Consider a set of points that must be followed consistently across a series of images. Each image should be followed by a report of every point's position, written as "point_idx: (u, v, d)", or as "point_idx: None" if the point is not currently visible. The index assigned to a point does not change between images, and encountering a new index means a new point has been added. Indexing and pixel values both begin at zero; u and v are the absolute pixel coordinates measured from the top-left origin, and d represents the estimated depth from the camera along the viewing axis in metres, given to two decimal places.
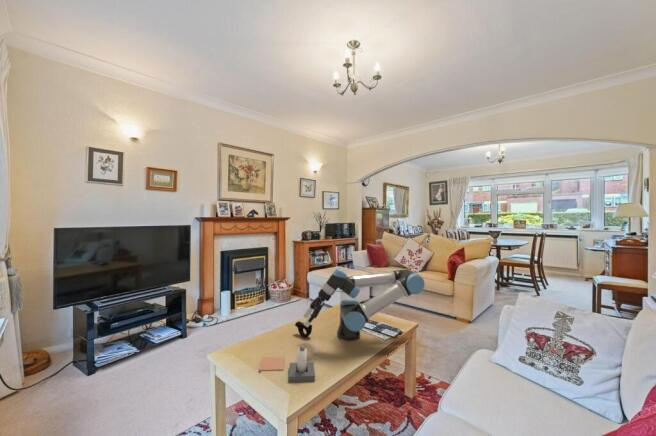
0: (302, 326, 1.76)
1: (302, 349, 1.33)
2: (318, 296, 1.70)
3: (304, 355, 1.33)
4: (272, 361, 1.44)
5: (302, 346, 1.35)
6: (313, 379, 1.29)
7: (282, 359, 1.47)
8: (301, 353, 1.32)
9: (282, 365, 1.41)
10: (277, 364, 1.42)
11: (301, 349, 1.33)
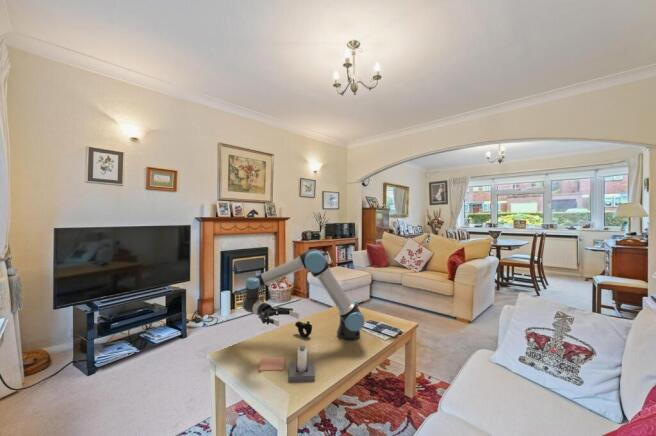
0: (302, 326, 1.76)
1: (302, 349, 1.33)
2: None
3: (304, 355, 1.33)
4: (272, 361, 1.44)
5: (302, 346, 1.35)
6: (313, 379, 1.29)
7: (282, 359, 1.47)
8: (301, 353, 1.32)
9: (282, 365, 1.41)
10: (277, 364, 1.42)
11: (301, 349, 1.33)
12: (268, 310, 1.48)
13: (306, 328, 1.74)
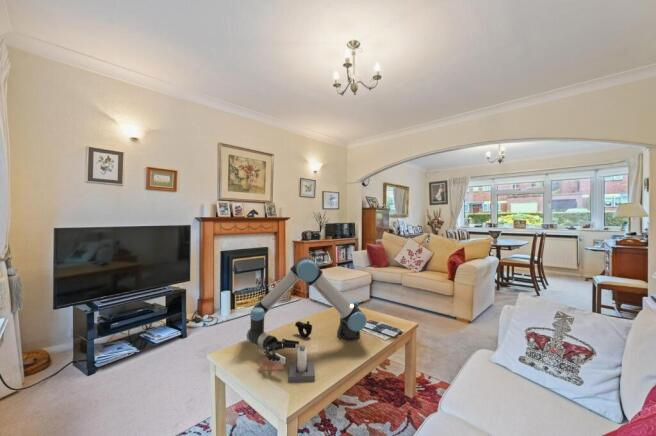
0: (302, 326, 1.76)
1: (302, 349, 1.33)
2: None
3: (304, 355, 1.33)
4: (272, 361, 1.44)
5: (302, 346, 1.35)
6: (313, 379, 1.29)
7: None
8: (301, 353, 1.32)
9: (282, 365, 1.41)
10: (277, 364, 1.42)
11: (301, 349, 1.33)
12: (274, 344, 1.44)
13: (306, 328, 1.74)
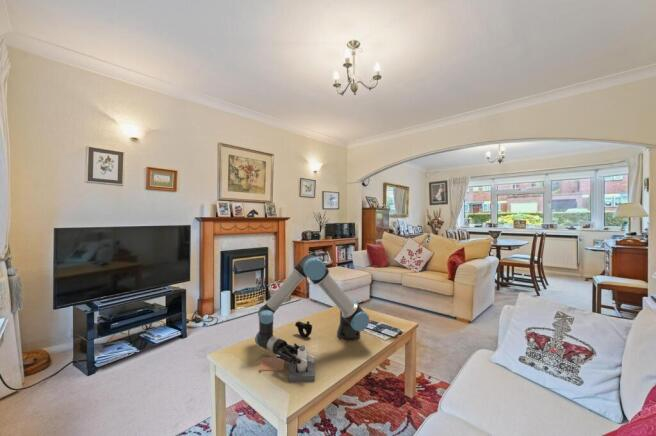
0: (302, 326, 1.76)
1: (302, 349, 1.33)
2: None
3: (304, 355, 1.33)
4: (272, 361, 1.44)
5: (302, 346, 1.35)
6: (313, 379, 1.29)
7: None
8: (301, 353, 1.32)
9: (282, 365, 1.41)
10: (277, 364, 1.42)
11: (301, 349, 1.33)
12: (285, 348, 1.40)
13: (306, 328, 1.74)
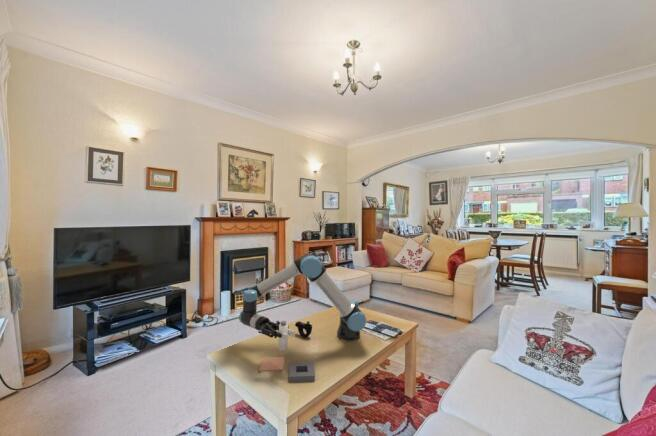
0: (302, 326, 1.76)
1: (283, 324, 1.38)
2: None
3: (285, 330, 1.37)
4: (272, 361, 1.44)
5: (283, 321, 1.39)
6: (313, 379, 1.29)
7: (282, 359, 1.47)
8: (282, 328, 1.37)
9: (282, 365, 1.41)
10: (277, 364, 1.42)
11: (282, 324, 1.38)
12: (267, 324, 1.44)
13: (306, 328, 1.74)
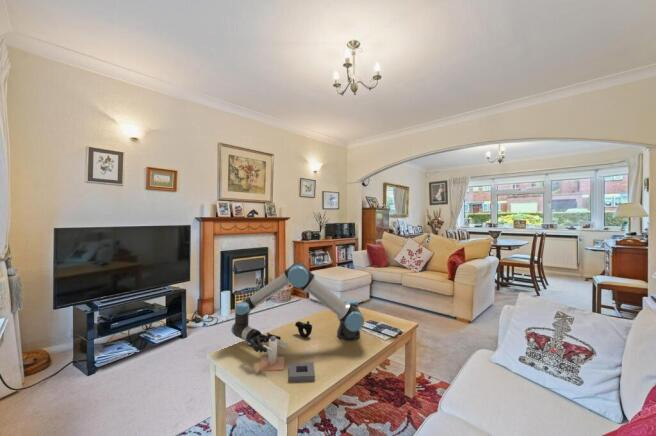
0: (302, 326, 1.76)
1: (273, 339, 1.42)
2: None
3: (274, 345, 1.41)
4: None
5: (273, 336, 1.43)
6: (313, 379, 1.29)
7: (282, 359, 1.47)
8: (271, 343, 1.41)
9: (282, 365, 1.41)
10: (277, 364, 1.42)
11: (272, 339, 1.42)
12: (257, 337, 1.48)
13: (306, 328, 1.74)
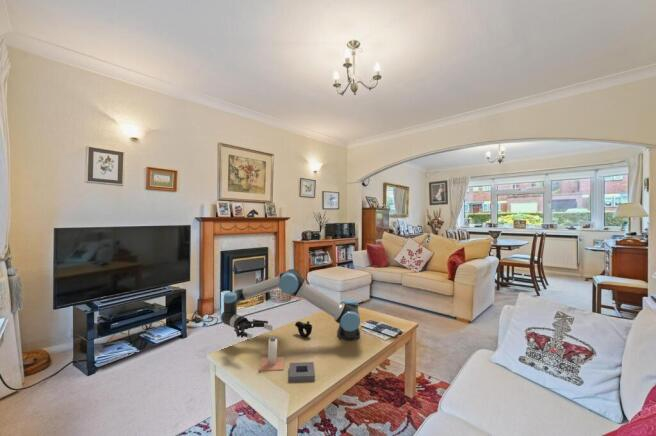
0: (302, 326, 1.76)
1: (272, 339, 1.41)
2: None
3: (274, 345, 1.41)
4: None
5: (273, 337, 1.43)
6: (313, 379, 1.29)
7: (282, 359, 1.47)
8: (271, 343, 1.41)
9: (282, 365, 1.41)
10: (277, 364, 1.42)
11: (271, 339, 1.41)
12: (243, 323, 1.57)
13: (306, 328, 1.74)
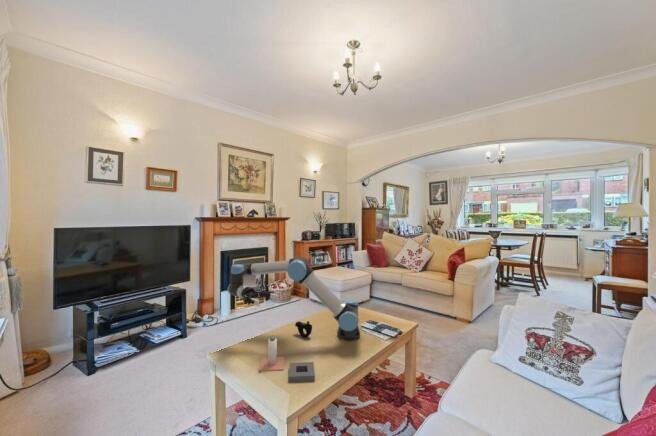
0: (302, 326, 1.76)
1: (272, 339, 1.42)
2: None
3: (274, 345, 1.41)
4: None
5: (272, 336, 1.43)
6: (313, 379, 1.29)
7: (282, 359, 1.47)
8: (271, 343, 1.41)
9: (282, 365, 1.41)
10: (277, 364, 1.42)
11: (271, 339, 1.42)
12: (250, 293, 1.61)
13: (306, 328, 1.74)
